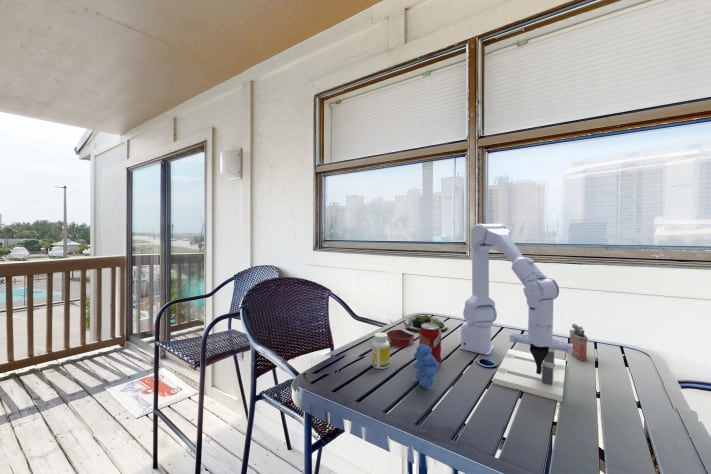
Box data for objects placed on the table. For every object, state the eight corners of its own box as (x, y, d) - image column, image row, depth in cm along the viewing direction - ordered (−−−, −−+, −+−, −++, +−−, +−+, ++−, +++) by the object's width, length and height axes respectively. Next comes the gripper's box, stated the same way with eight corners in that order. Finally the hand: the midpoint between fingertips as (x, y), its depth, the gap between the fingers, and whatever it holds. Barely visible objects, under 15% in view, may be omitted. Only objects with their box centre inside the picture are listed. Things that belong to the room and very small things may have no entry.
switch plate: (493, 383, 87) (493, 377, 87) (508, 353, 107) (508, 348, 107) (562, 401, 78) (562, 395, 78) (565, 365, 98) (565, 360, 97)
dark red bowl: (391, 349, 122) (392, 323, 127) (417, 350, 118) (417, 323, 122) (381, 345, 113) (382, 317, 118) (408, 346, 109) (409, 317, 113)
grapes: (448, 397, 80) (449, 351, 80) (423, 400, 79) (423, 353, 79) (431, 375, 92) (431, 335, 91) (409, 377, 91) (409, 336, 90)
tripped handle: (541, 382, 84) (542, 366, 84) (543, 376, 87) (543, 361, 87) (552, 385, 83) (552, 368, 82) (553, 379, 86) (553, 363, 85)
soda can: (428, 370, 95) (428, 330, 95) (414, 361, 101) (414, 324, 101) (445, 365, 98) (446, 327, 98) (431, 357, 104) (431, 321, 104)
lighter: (590, 362, 100) (590, 330, 99) (578, 361, 100) (578, 330, 100) (577, 351, 108) (578, 322, 107) (566, 351, 108) (567, 322, 108)
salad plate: (399, 319, 146) (399, 309, 146) (438, 318, 146) (438, 309, 146) (407, 334, 127) (407, 322, 126) (451, 333, 127) (451, 322, 127)
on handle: (544, 365, 94) (544, 350, 94) (545, 360, 97) (545, 346, 97) (553, 367, 93) (553, 352, 93) (554, 362, 96) (554, 348, 95)
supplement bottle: (392, 363, 100) (391, 332, 99) (386, 370, 95) (386, 338, 94) (375, 360, 102) (375, 330, 102) (369, 367, 97) (369, 336, 97)
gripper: (508, 322, 86) (507, 371, 87) (572, 333, 78) (571, 387, 78) (512, 316, 92) (511, 361, 93) (573, 325, 84) (571, 375, 84)
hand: (539, 372), depth 86 cm, fingers closed
